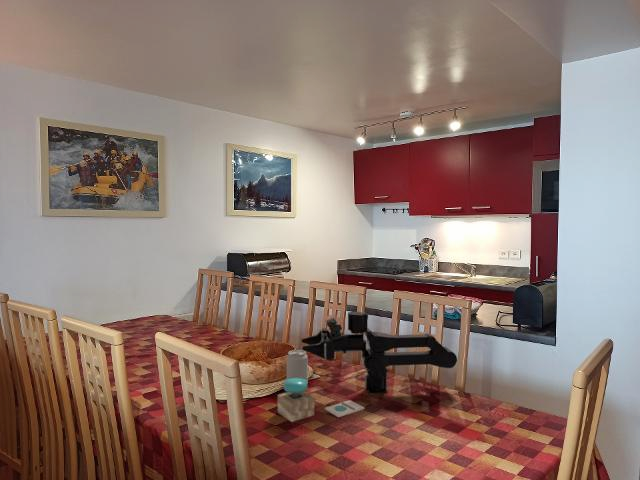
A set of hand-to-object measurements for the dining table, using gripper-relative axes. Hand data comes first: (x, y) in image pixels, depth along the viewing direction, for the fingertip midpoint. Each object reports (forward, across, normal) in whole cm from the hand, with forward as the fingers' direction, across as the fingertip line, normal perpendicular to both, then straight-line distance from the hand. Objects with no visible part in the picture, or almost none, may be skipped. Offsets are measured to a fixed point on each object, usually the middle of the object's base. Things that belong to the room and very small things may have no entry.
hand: (302, 344), depth 154 cm
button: (+3, +17, +12) cm, 21 cm away
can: (+2, -7, +17) cm, 18 cm away
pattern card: (-12, +15, +17) cm, 26 cm away
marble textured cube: (+3, +17, +17) cm, 24 cm away
